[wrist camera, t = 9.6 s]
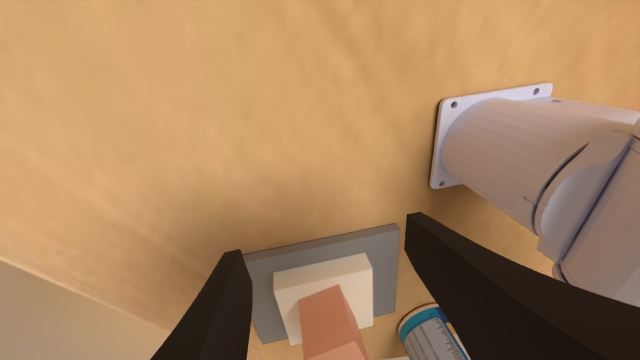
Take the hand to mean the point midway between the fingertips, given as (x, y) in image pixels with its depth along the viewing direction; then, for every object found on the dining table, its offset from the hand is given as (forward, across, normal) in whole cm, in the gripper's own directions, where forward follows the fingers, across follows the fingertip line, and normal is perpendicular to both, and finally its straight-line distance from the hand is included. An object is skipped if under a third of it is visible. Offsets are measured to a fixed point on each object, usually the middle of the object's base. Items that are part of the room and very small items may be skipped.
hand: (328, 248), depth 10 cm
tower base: (+10, 0, +15) cm, 18 cm away
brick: (+7, 0, +15) cm, 16 cm away
